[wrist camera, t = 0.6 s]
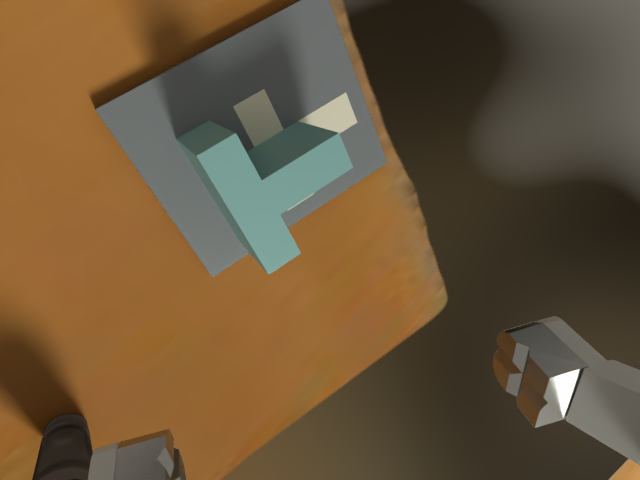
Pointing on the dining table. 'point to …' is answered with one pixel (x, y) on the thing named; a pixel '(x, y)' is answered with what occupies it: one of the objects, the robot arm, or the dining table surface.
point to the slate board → (245, 116)
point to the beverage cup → (64, 450)
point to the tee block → (264, 180)
